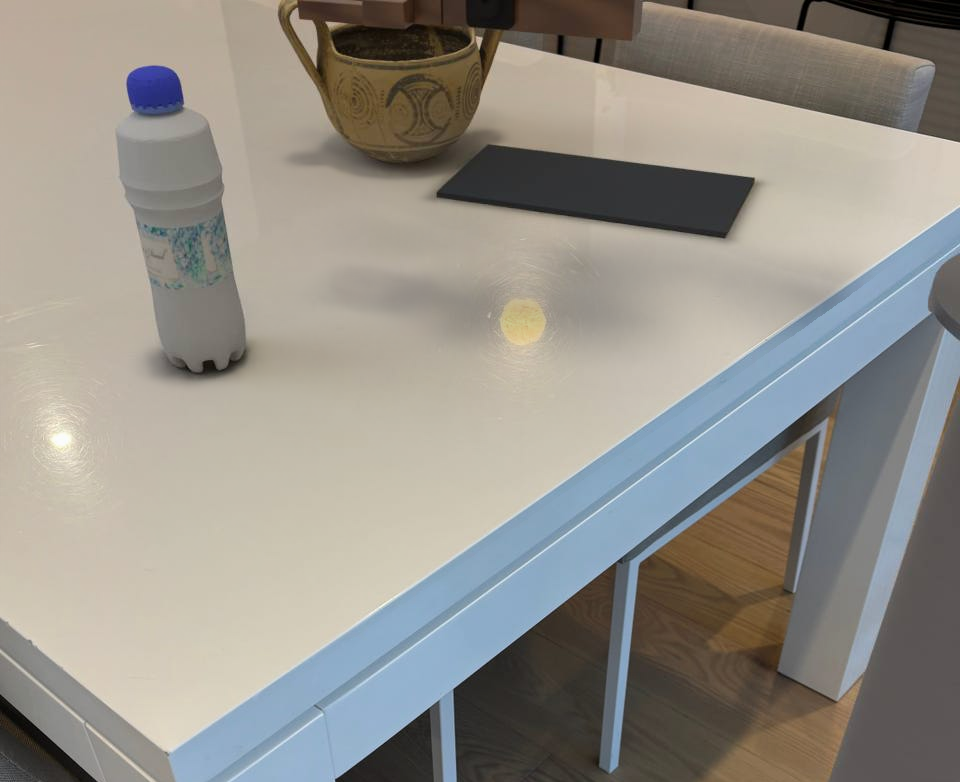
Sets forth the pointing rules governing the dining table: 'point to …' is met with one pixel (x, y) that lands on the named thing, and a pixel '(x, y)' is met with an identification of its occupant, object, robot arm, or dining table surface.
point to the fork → (538, 9)
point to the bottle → (180, 221)
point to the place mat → (601, 189)
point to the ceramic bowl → (397, 83)
